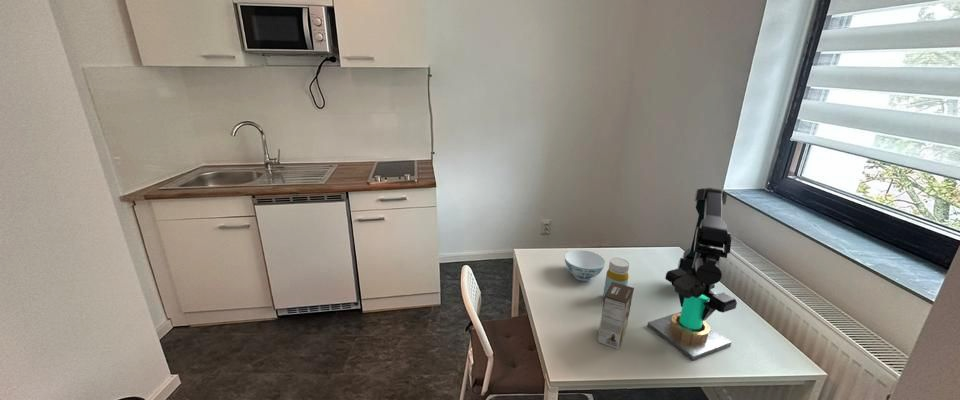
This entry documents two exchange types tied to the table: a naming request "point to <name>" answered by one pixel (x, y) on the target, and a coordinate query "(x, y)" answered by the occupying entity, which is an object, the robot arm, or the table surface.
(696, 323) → the candle
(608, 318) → the coffee box
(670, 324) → the square plate with hole
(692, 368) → the table surface
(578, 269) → the chinaware
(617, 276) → the bottle
